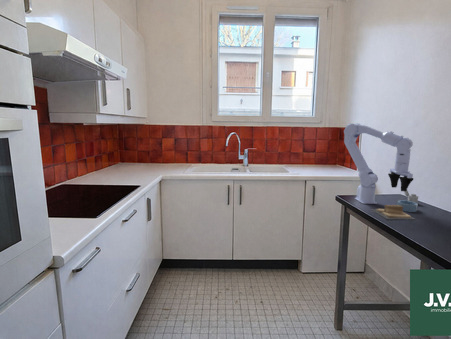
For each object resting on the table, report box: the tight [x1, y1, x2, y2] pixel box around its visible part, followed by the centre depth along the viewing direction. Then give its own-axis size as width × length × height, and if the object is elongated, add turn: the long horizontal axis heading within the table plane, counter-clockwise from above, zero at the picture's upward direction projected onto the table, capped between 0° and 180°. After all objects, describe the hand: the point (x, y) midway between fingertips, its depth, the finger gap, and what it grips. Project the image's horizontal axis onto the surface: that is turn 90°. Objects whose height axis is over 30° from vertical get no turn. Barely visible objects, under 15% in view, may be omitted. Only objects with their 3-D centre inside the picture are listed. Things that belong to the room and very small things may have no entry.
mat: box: [370, 208, 417, 221], centre depth 125 cm, size 13×13×1 cm
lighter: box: [403, 189, 419, 204], centre depth 142 cm, size 7×2×8 cm, turn 77°
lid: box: [376, 204, 412, 218], centre depth 124 cm, size 10×10×4 cm
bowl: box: [396, 199, 419, 213], centre depth 132 cm, size 8×8×4 cm
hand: (398, 189), depth 133 cm, fingers open, 7 cm apart
